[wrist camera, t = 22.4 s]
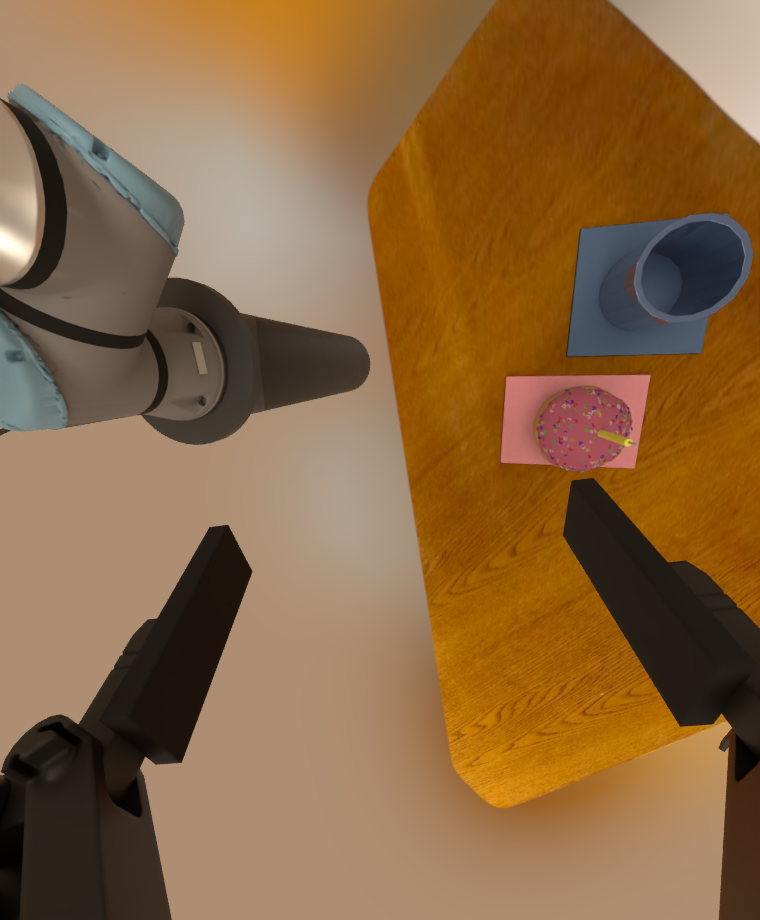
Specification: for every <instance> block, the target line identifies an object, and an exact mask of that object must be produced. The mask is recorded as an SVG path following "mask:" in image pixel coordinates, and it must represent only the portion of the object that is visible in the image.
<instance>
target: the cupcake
mask: <svg viewBox="0 0 760 920" xmlns="http://www.w3.org/2000/svg"><path fill="white" fill-rule="evenodd" d="M629 409H630V408H629V407H628V406H627V404H626V403H625V402H624V401H623V400H622V399H619V398H617V397H615V396H614V395H613V394H611V393H609V392H608V391H606V390H603V389H601V388H599V387H596V386H589V385H587V386H578V387H572V388H566V389H563V390H561V391H560V392H558V393H557V394H555V395H554V396H552V397H550V398H549V399H547V400H546V401H545V402H544V403H543V404H542V406H541V408H540V410H539V411H538V413H537V415H536V416H535V419H534V423H533V433H534V437H535V440H536V443H537V445H538V447H539V449H540V452H541V454H542V456H543V457H544V458H545V459H546V460H547V461H548V462H549V463H551V464H552V465H554V466H557V467H560V468H564V469H566V470H567V469H568V470H574V471H580V472H581V471H582V472H583V471H588V470H593V469H594V468H597V467H600V466H602V465H605V464H607V463H611V462H610V461H612V460H613V459H614V458H616V457H617V456H618V455H619V454H620V453H621V452H622V450H623V449H624V447H625V446H631V445H635V446H637V445H638V444H637V443H634V442H633V441H632V439H629V436H630V432H631V430H633V428H632V425H633V424H632V417H631V414H632V411H630V410H629ZM631 428H632V429H631Z"/></svg>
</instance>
